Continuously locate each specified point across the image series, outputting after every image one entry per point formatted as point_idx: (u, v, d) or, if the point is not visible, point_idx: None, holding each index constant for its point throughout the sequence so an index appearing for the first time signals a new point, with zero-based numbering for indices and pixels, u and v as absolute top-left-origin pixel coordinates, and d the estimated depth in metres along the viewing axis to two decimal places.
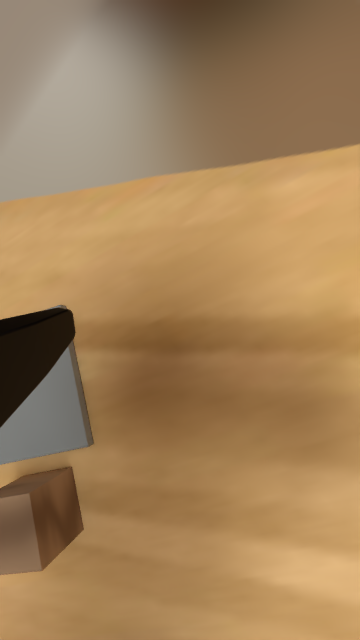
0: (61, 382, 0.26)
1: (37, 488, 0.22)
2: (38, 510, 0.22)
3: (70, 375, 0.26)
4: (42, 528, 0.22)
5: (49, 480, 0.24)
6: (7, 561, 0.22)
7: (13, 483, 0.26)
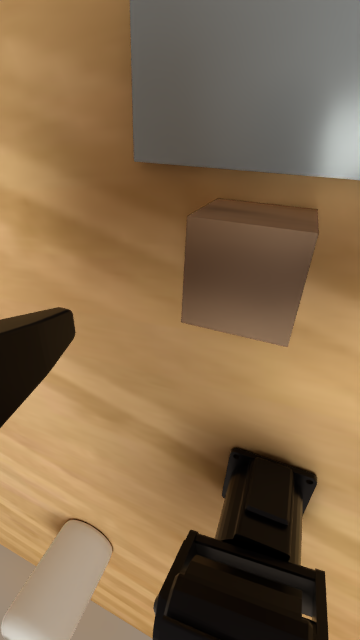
0: None
1: (317, 228, 0.12)
2: None
3: None
4: None
5: (317, 221, 0.13)
6: (228, 317, 0.14)
7: (221, 205, 0.15)
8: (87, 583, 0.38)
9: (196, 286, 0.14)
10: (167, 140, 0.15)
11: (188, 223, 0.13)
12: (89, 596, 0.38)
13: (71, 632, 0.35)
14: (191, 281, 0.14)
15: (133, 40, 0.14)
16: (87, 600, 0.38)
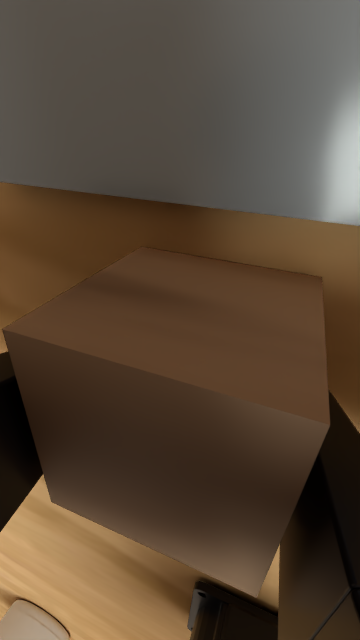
0: None
1: (323, 381, 0.04)
2: None
3: None
4: None
5: (324, 336, 0.05)
6: (133, 521, 0.07)
7: (129, 272, 0.07)
8: None
9: (60, 458, 0.06)
10: (33, 143, 0.08)
11: (10, 344, 0.05)
12: None
13: None
14: (49, 448, 0.06)
15: None
16: None
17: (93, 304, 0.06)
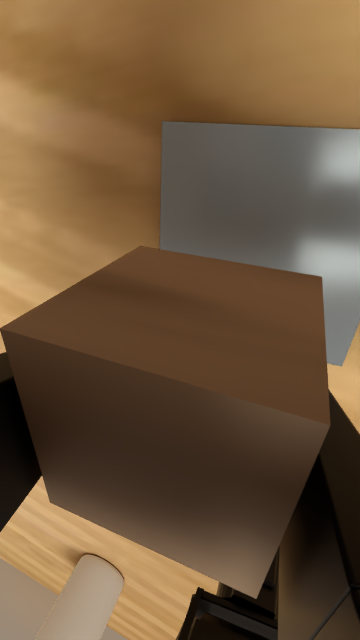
0: (348, 275, 0.16)
1: (324, 381, 0.04)
2: None
3: None
4: None
5: (324, 335, 0.05)
6: (132, 521, 0.07)
7: (128, 271, 0.07)
8: (103, 614, 0.43)
9: (59, 458, 0.06)
10: None
11: (7, 343, 0.05)
12: (104, 625, 0.43)
13: None
14: (47, 448, 0.06)
15: None
16: (103, 629, 0.43)
17: (92, 303, 0.06)
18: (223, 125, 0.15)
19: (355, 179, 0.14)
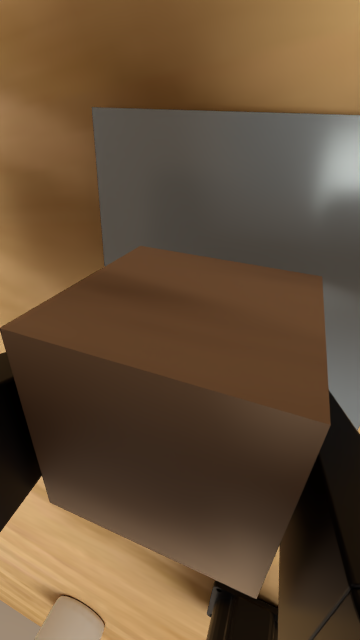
0: None
1: (324, 381, 0.04)
2: None
3: None
4: None
5: (324, 335, 0.05)
6: (131, 522, 0.07)
7: (128, 271, 0.07)
8: None
9: (58, 458, 0.06)
10: None
11: (7, 343, 0.05)
12: None
13: None
14: (47, 448, 0.06)
15: None
16: None
17: (91, 303, 0.06)
18: (177, 112, 0.10)
19: None
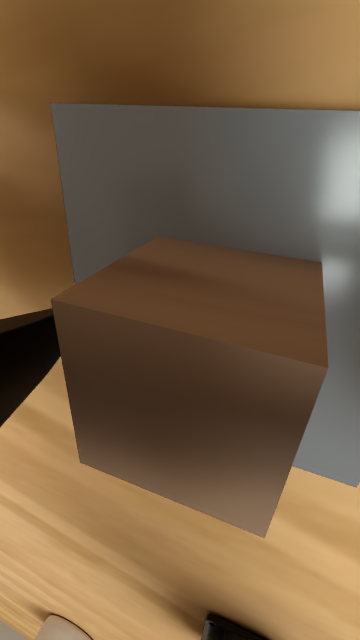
0: None
1: (323, 339, 0.05)
2: None
3: None
4: None
5: (324, 307, 0.06)
6: (155, 474, 0.07)
7: (150, 256, 0.08)
8: None
9: (92, 418, 0.07)
10: None
11: (56, 313, 0.06)
12: None
13: None
14: (83, 408, 0.07)
15: None
16: None
17: (123, 281, 0.07)
18: (149, 108, 0.08)
19: None
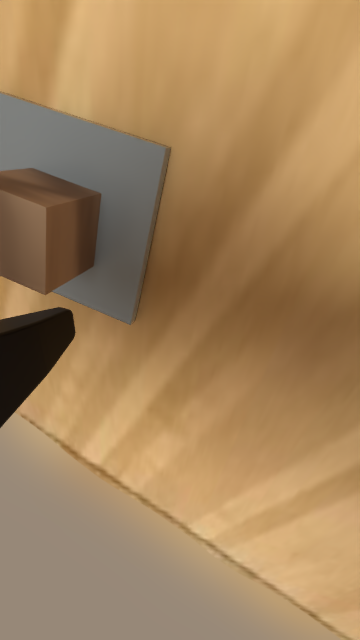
0: (74, 143, 0.18)
1: None
2: None
3: (70, 123, 0.18)
4: (15, 190, 0.16)
5: None
6: (32, 253, 0.17)
7: None
8: None
9: (15, 272, 0.18)
10: (122, 298, 0.22)
11: None
12: None
13: None
14: (12, 275, 0.18)
15: (74, 299, 0.24)
16: None
17: None
18: None
19: (10, 140, 0.19)
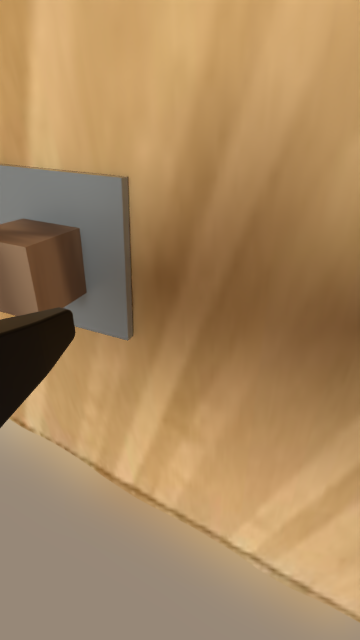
0: (50, 191, 0.21)
1: None
2: None
3: (43, 175, 0.21)
4: (2, 238, 0.19)
5: None
6: (23, 288, 0.19)
7: None
8: None
9: (14, 307, 0.20)
10: (115, 317, 0.24)
11: None
12: None
13: None
14: (12, 310, 0.21)
15: (77, 325, 0.26)
16: None
17: None
18: None
19: (2, 199, 0.23)
